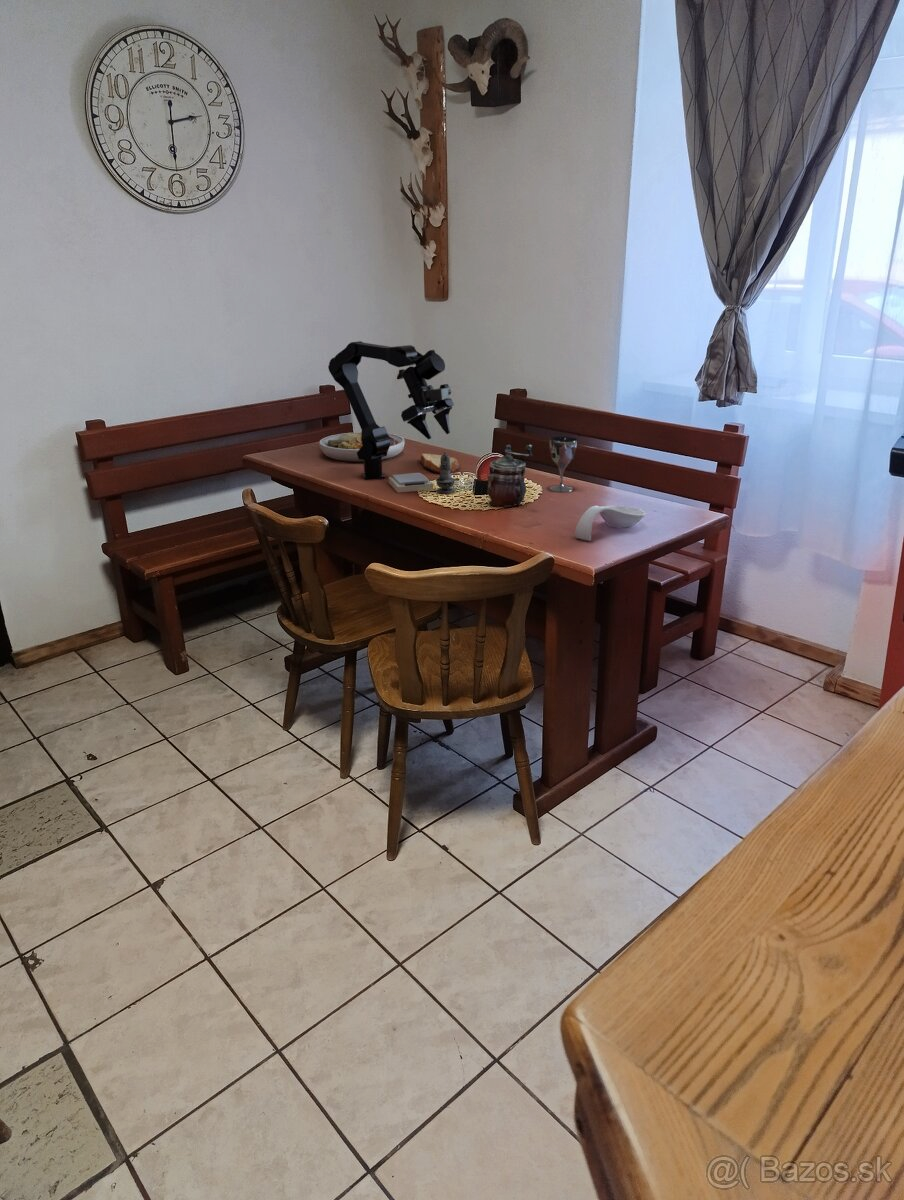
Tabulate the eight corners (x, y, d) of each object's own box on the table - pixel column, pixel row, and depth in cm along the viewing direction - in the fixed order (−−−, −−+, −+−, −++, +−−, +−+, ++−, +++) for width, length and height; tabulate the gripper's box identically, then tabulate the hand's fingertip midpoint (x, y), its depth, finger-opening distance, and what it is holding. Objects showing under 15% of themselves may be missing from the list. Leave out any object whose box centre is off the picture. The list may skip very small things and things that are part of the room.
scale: (388, 482, 253) (388, 474, 252) (422, 480, 256) (422, 472, 255) (397, 492, 242) (397, 484, 241) (433, 489, 245) (433, 481, 244)
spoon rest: (613, 515, 220) (615, 489, 217) (652, 524, 212) (654, 497, 210) (562, 536, 204) (564, 508, 201) (602, 546, 196) (604, 517, 194)
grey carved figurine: (456, 489, 246) (456, 449, 241) (454, 494, 240) (454, 454, 236) (436, 488, 246) (436, 449, 242) (434, 493, 241) (434, 453, 236)
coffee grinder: (518, 514, 221) (520, 448, 214) (477, 504, 230) (477, 440, 224) (546, 504, 230) (548, 441, 223) (505, 495, 239) (507, 433, 232)
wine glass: (577, 487, 247) (580, 437, 241) (569, 493, 240) (572, 442, 234) (552, 484, 250) (554, 435, 244) (544, 490, 243) (546, 440, 238)
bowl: (302, 456, 286) (300, 434, 283) (358, 442, 309) (357, 421, 306) (367, 468, 271) (366, 444, 267) (421, 451, 293) (421, 429, 290)
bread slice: (425, 458, 283) (424, 447, 282) (472, 463, 276) (472, 452, 274) (400, 469, 268) (399, 458, 267) (448, 475, 261) (448, 463, 260)
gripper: (416, 378, 226) (439, 430, 227) (455, 371, 240) (476, 420, 241) (390, 395, 233) (412, 445, 235) (429, 387, 247) (450, 435, 249)
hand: (439, 436), depth 239 cm, fingers open, 9 cm apart
